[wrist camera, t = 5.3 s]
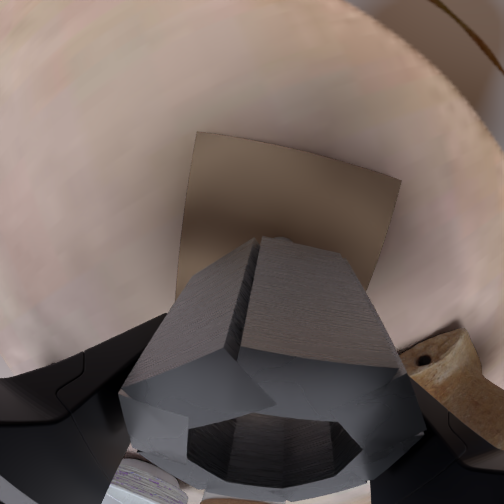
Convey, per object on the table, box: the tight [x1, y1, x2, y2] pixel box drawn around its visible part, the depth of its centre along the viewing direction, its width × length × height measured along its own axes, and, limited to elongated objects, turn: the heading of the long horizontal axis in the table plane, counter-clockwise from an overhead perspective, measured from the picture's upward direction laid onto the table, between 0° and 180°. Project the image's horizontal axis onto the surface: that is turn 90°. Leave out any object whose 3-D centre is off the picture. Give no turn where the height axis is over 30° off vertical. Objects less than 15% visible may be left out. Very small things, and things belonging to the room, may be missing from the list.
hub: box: [118, 236, 427, 502], centre depth 7 cm, size 6×6×5 cm
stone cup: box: [399, 328, 504, 450], centre depth 14 cm, size 15×12×15 cm
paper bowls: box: [106, 458, 188, 504], centre depth 30 cm, size 15×15×8 cm
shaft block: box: [175, 132, 402, 301], centre depth 15 cm, size 12×12×6 cm
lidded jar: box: [200, 489, 285, 504], centre depth 25 cm, size 11×11×9 cm
